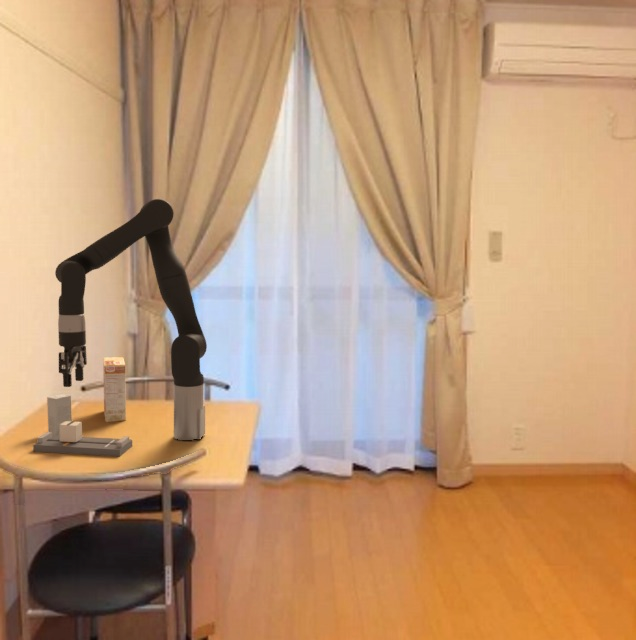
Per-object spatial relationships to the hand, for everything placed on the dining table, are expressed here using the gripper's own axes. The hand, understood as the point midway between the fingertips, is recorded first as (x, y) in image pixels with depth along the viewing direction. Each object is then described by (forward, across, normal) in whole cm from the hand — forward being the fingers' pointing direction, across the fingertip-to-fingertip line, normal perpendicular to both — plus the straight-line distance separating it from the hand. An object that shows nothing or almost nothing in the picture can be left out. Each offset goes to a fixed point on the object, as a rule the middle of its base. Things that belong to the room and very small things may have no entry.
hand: (73, 383), depth 209 cm
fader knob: (+17, -2, +1) cm, 17 cm away
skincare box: (+19, +13, +10) cm, 25 cm away
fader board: (+19, -2, -3) cm, 20 cm away
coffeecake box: (+19, +36, +1) cm, 41 cm away
